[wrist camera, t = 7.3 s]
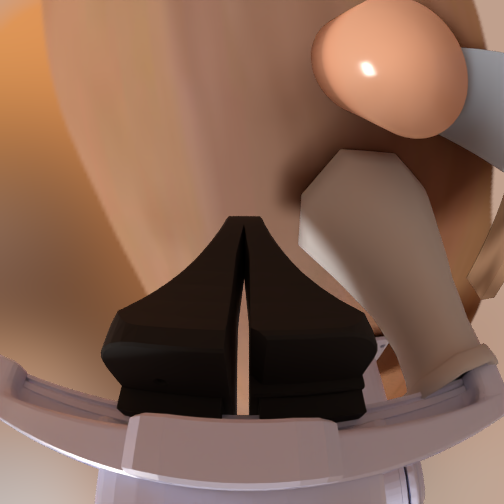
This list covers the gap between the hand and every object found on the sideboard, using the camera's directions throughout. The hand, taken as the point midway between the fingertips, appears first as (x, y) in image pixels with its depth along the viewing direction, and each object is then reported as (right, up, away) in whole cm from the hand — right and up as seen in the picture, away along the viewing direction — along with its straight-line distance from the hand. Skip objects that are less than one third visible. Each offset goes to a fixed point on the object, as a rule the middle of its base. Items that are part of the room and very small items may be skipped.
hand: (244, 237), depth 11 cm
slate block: (+12, +7, -2) cm, 14 cm away
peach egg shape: (+5, +7, -2) cm, 9 cm away
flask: (+6, +2, +2) cm, 7 cm away
